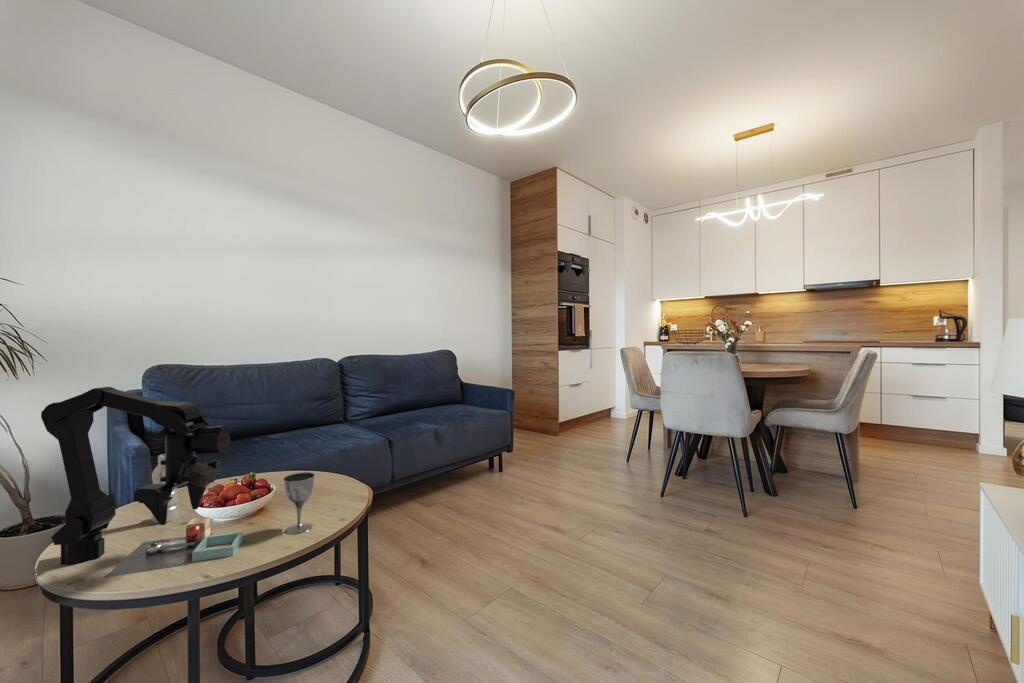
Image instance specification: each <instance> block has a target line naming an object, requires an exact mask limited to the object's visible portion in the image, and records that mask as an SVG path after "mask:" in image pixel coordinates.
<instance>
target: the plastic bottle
mask: <svg viewBox="0 0 1024 683" xmlns="http://www.w3.org/2000/svg"><path fill="white" fill-rule="evenodd" d="M162 460H165V453H163V454H159V455H158V456H157V463H158V464H157V466H156V467H155V468H154V469H153V471H152V473H151V478H152V479H151V480H152V484H165V483H166V482H160V478H161V477H164V476H165V465H161V461H162ZM176 484H177V483H176ZM170 497H173V498H172V499H171V500H170V501H169V502H168V506H167V520H166V523H169V522H172V521H174V520H176V519H177V518H178V517H179V515H180V506H179V500H178V487H177V488H174V489H172V494H171V495H170ZM150 519H151V522H153V523H154V524H156V525H157V524H158V525H160V524H159V523H158V521H157V520H156V518H155V517H154V515H153V514H152V513H151V515H150Z"/></svg>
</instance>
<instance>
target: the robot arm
mask: <svg viewBox="0 0 1024 683" xmlns="http://www.w3.org/2000/svg"><path fill="white" fill-rule="evenodd" d="M105 407H107V408H110V409H113V410H117V411H122V412H124V413H125V412H126V413H129V414H133V415H137V416H141V417H146V418H148V419H150V421H152V422H153V423H154V424H155V425H158V426H160V427H162V430H160V431H159V432H158V433H156V434H154V435H155V436H154V437H155V438H156V439H159V438H161V439H162V438H164V440H165V446H164V447H165V449H164V450H165V451H164V452H165V453H164V454H165V460H162V461H161V465H165V476H164V477H161V478H160V482H166V483H165V484H153V483H149V484H146V485H143V486H141V487H139V488H136V490H135V491H134V492H133V501H132V502H134V503H135V502H136V503H138V504H144V505H145V507H146V508H147V509H148V510H149V511H150V513H151V514H153V515H154V517H155V518H156V520H157V521H158V523H159V524H158V525H160V526H165V525H167V522H166V520H167V506H168V502H169V501H170V500H171V499H172V498H173V497H170V495H171V494H172V489H174V488H177V489H178V487H179V488H180V487H181V486H184V485H187V490H188V491H187V492H188V495H189V496H188V497H189V501H190V505H191V508H192V510H197V509H199V506H200V504H201V501H202V498H203V497H204V494H205V492H206V489H207V487H208V486H209V485H210V484H212V483H215V480H216V478H218V477H220V474H222V462H221V461H220V460H218V459H215V460H212V461H210V462H209V463H208V462H205V463H202V462H201V457H200V455H205V454H209V455H210V454H225V453H226V452H227V451H228V449H229V447H230V445H231V436H230V434H229V432H228V431H227V430H226V425H217V426H211V425H210V423H209V422H208V421H207V420H206V418H205V417H204V416H203V415H202V414H201V412H200V409H199V408H198V405H197V404H196V403H193V402H189V401H187V402H186V401H172V400H171V401H167V400H166V401H165V400H159V399H155V398H150V397H147V396H144V395H143V396H142V395H141V394H136V393H131V392H127V391H124V390H121V389H117V388H114V387H112V386H103V387H95V388H90V389H89V390H88V391H85V392H84V393H83V392H82V393H81V394H79V395H76V396H73V397H70V398H68V399H65V400H63V401H62V400H61V401H58V402H52V403H49V404H48V405H46V406H45V408H44V409H43V410H41V412H40V413H41V414H40V419H41V420H42V424H44V427H45V430H46V432H48V433H49V434H50V435H51V436H53V437H54V438H55V439H56V440H57V441H58V444H59V449H60V453H61V457H62V462H63V468H64V472H65V475H66V476H65V477H66V481H67V485H68V490H69V495H70V501H69V502H68V505H67V508H65V509H66V510H65V512H64V522H65V523H64V525H63V526H62V527H61V528H59V529H58V530H57V531H56V532H55V533H54V534H53V535H51V540H52V542H53V545H54V546H60V565H66V566H74V565H80V564H83V563H86V562H89V561H93V560H94V561H95V560H98V559H99V558H101V557H102V556H103V555H104V554H105V544H106V543H105V537H103V530H106V529H108V528H109V525H110V523H111V521H112V520H113V519H114V517H115V516H116V510H117V509H118V508H119V507H118V506H117V504H116V501H115V499H116V498H115V494H114V493H110V494H107V493H105V492H104V491H103V490H102V489H101V487H100V484H99V483H100V482H99V478H98V473H97V470H96V469H97V468H96V464H95V461H94V456H93V455H94V454H93V451H92V446H91V442H90V437H89V433H90V430H91V428H92V425H93V423H94V420H95V419H94V413H96V412H98V411H100V410H102V409H103V408H105ZM195 454H197V455H195ZM176 483H177V484H176Z"/></svg>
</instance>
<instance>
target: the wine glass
mask: <svg viewBox="0 0 1024 683" xmlns="http://www.w3.org/2000/svg"><path fill="white" fill-rule="evenodd" d="M282 481H283V492H284V497H285V499H286V500H287V501H288V502H289V503H290V504H292V505H293V507H294V508H295V510H296V518H297V523H296V524H292V525H290V526H288V527H286V528H285V530H284V533H285V535H301V534H303V533H306V532H308V531H310V530H312V529H313V524H312V523H309V522H302V523H301V516H302V515H301V514H302V509H303V506H304V505H305V504H306V502H308V501H309V499H310V497H311V496H312V495H313V492H314V486H315V473H313V472H309V471H307V472H305V471H303V472H295V473H291V474H288V475H286V476H285V477H283V480H282Z"/></svg>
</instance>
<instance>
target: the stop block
mask: <svg viewBox="0 0 1024 683" xmlns="http://www.w3.org/2000/svg"><path fill="white" fill-rule="evenodd" d="M193 524H200V525H201V538H200V540H198V541H196V543H199V542H201V541H202V540H203V539H204V538H205V537H207V536H210V533H211V516H205V517H197V518H196V517H195V518H191V520H190V521H189V522H188V523H187V524H186V527H187V526H190V525H193Z"/></svg>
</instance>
